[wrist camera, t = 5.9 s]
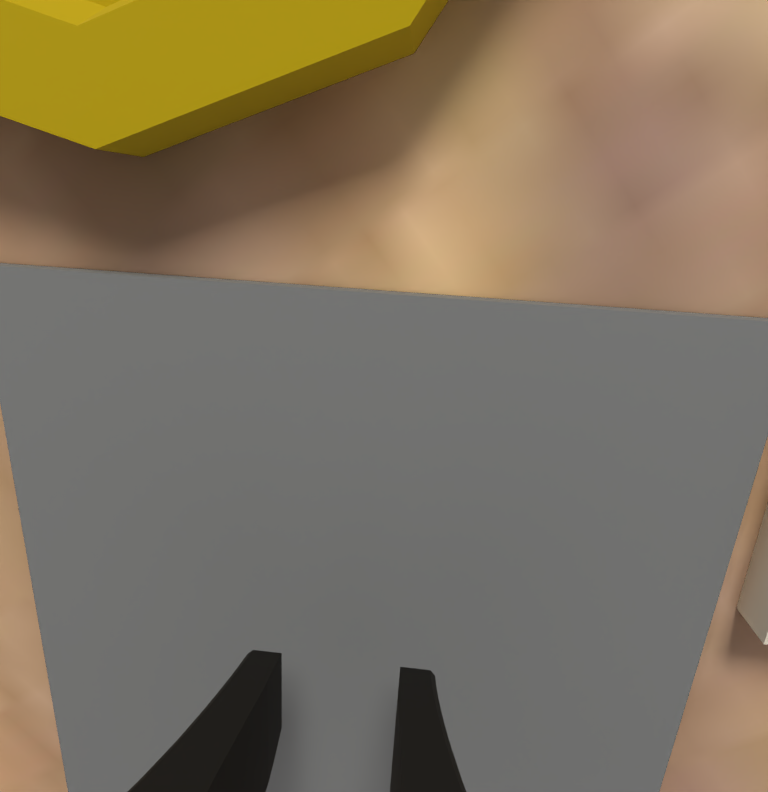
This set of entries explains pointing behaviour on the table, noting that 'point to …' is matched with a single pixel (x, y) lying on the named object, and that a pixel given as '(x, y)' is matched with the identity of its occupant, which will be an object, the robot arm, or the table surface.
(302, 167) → the table surface
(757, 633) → the tile
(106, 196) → the table surface
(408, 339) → the mat
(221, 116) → the decorative disc
